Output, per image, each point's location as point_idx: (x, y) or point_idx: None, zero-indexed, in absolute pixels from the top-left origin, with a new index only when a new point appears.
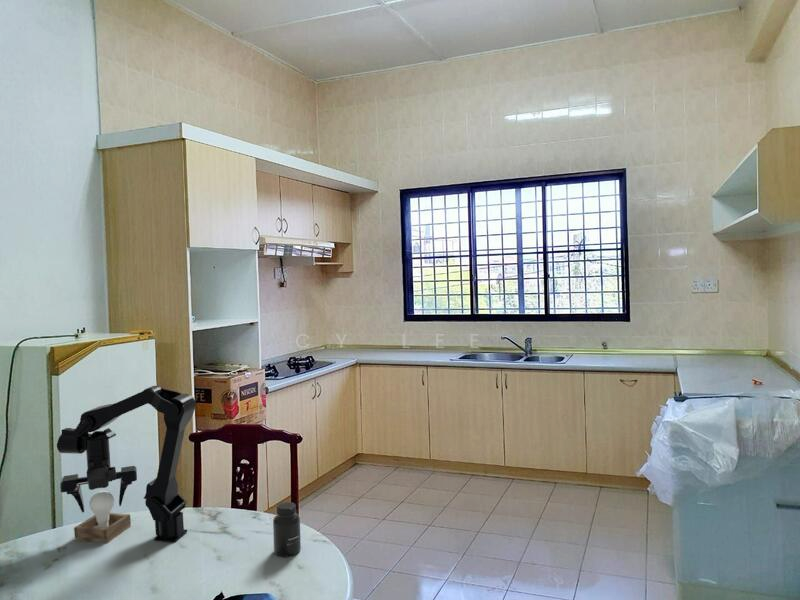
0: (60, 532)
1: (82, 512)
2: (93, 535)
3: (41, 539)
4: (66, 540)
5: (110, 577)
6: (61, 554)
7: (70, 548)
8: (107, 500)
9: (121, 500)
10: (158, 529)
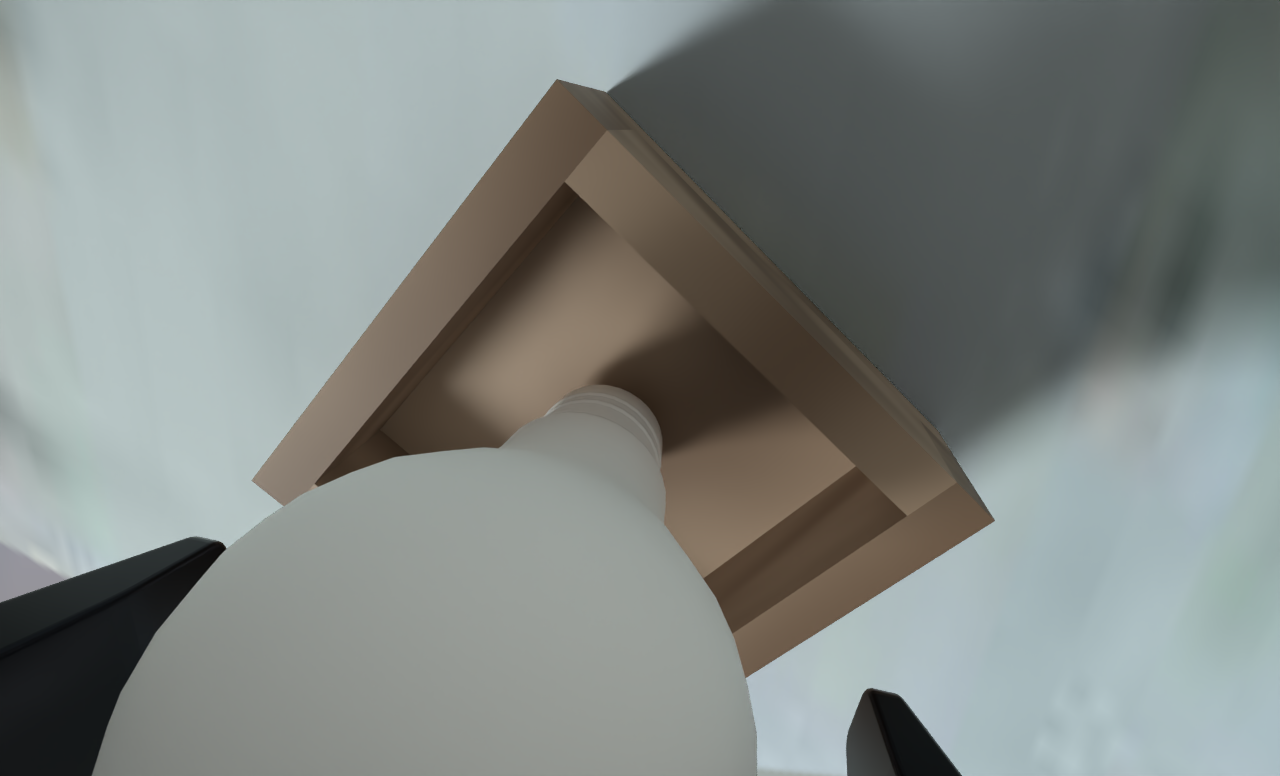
0: (1006, 709)
1: (894, 695)
2: (754, 256)
3: (1231, 676)
4: (1018, 488)
5: None
6: (1230, 75)
7: (1054, 217)
8: (219, 607)
9: (56, 590)
10: None
